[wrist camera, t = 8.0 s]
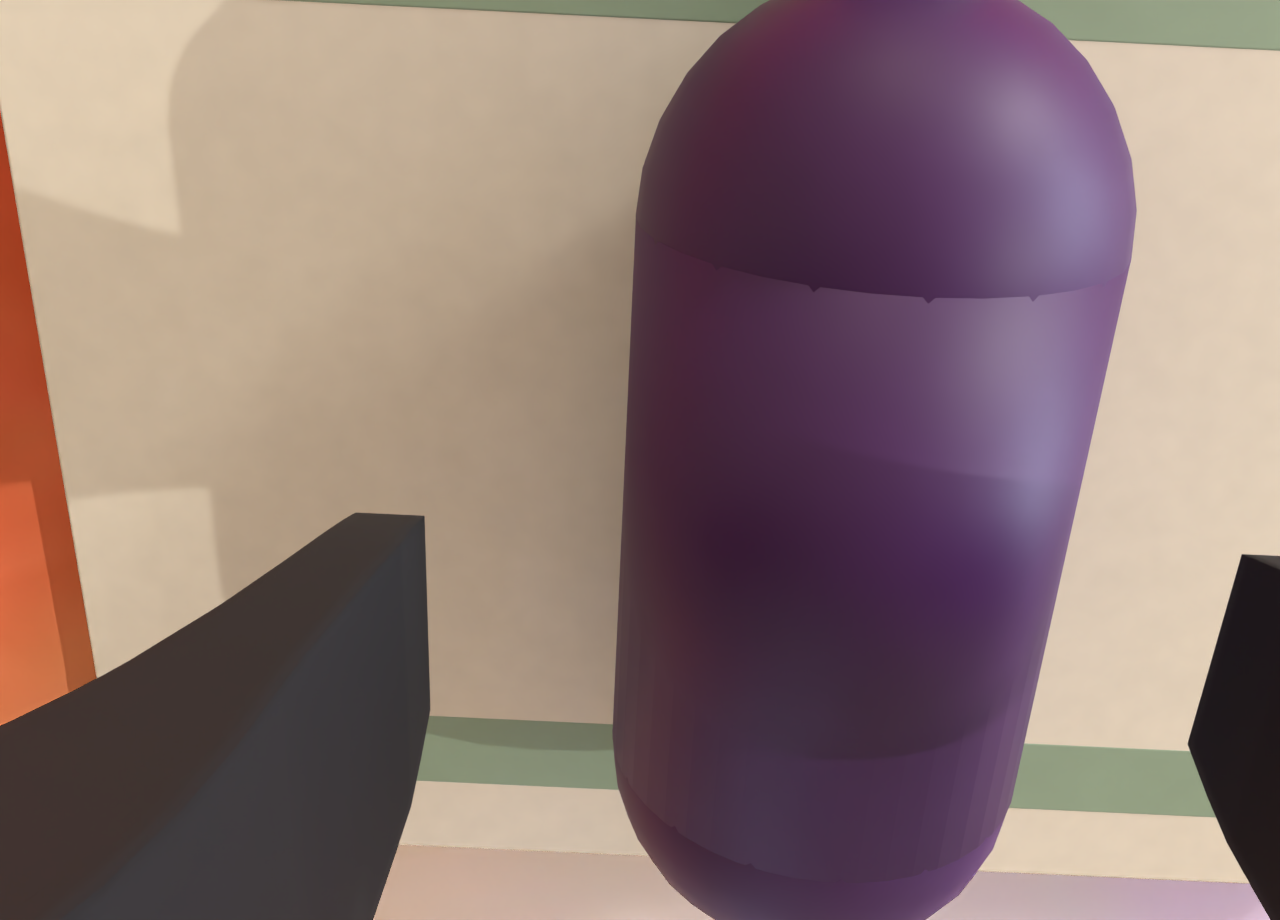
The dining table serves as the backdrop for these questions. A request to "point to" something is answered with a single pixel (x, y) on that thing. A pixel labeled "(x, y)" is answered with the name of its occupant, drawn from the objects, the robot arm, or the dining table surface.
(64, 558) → the dining table surface
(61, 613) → the dining table surface
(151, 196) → the towel
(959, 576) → the eggplant
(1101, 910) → the dining table surface
